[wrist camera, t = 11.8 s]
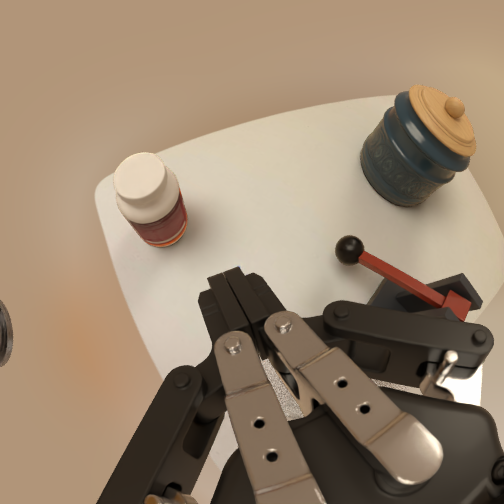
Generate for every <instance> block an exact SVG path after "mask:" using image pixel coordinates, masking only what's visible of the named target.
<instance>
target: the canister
mask: <svg viewBox="0 0 504 504" xmlns="http://www.w3.org/2000/svg"><path fill="white" fill-rule="evenodd" d="M394 105H395V106H393V107H391V108H389V109H388V110H387V111H386V112H385V114H384V117H383V119H382V120H381V121H380V123H379V124H378V126H377V127H376V128H375V130H374V131H373V132H372V133H371V134H370V135H369V136H368V137H367V139H366V140H365V142H364V144H363V148H362V150H361V155H360V159H361V165H362V168H363V171H364V173H365V176H366V177H367V179H368V181H369V182H370V184H371V185H372V186H373V188H374V189H375V190H376V191H377V192H378V193H379V194H380V195H381V196H383V197H384V198H385V199H387V200H388V201H390V202H392V203H394V204H396V205H399V206H404V207H409V206H413V205H416V204H419V203H421V202H423V201H424V200H426V199H427V198H428V197H429V196H430V194H432V193H433V192H434V191H436V190H437V189H438V188H440V187H441V186H442V185H444V184H446V183H449V182H450V181H451V180H452V179H453V178H454V176H455V173H456V172H462V171H464V170H466V169H467V167H468V165H469V162H470V156H472V155H473V154H474V153H475V151H476V141H475V138H474V132H473V128H472V125H471V123H470V121H469V120H468V118H467V116H466V115H465V114H464V111H465V108H464V105H463V103H462V102H461V100H459V99H458V98H456V97H448V96H447V95H445V94H444V93H443V92H441V91H439V90H437V89H435V88H431V87H426V86H423V85H414V86H412V87H411V88H410V90H409V91H405V92H401V93H399V94H398V95H397V96H396V98H395V103H394Z"/></svg>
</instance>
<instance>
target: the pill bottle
mask: <svg viewBox="0 0 504 504" xmlns="http://www.w3.org/2000/svg"><path fill="white" fill-rule="evenodd" d="M113 184H114V188H115V190H116V192H117V193H116V201H117V205H118V208H119V210H120V211H121V213H122V214H123V216H124V217H125V218H126V219H127V221H128V222H129V223H130V225H131V226H132V227H133V228H134V230H135V231H136V232H137V233H138V235H139V236H140V237H141V238H142V239H143V240H144V241H145V242H146V243H147V244H149V245H152V246H155V247H165V246H169V245H172V244H174V243H175V242H177V241H178V240H179V239H180V238H181V237H182V235H183V234H184V232H185V230H186V227H187V222H188V219H187V213H186V209H185V206H184V202H183V198H182V195H181V191H180V187H179V183H178V180H177V178H176V176H175V174H174V173H173V172H172V171H171V170H170V169H169V168H168V167H166V166H165V165H164V163H163V161H162V160H161V159H160V158H159V157H158V156H157V155H155V154H152V153H147V152H142V153H137V154H134V155H132V156H130V157H128V158H126V159H125V160H124V161H123V162H122V163H121V164H120V165H119V166H118V168H117V169H116V171H115V174H114V178H113Z"/></svg>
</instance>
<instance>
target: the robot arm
mask: <svg viewBox="0 0 504 504" xmlns="http://www.w3.org/2000/svg"><path fill="white" fill-rule="evenodd" d="M223 274H224V275H223ZM207 280H208V282H209V285H210V288H211V289H209V290H206V291H203V292H201V293H200V295H199V299H198V303H199V306H200V309H201V312H202V315H203V318H204V321H205V324H206V327H207V330H208V333H209V335H210V338H211V341H212V350H211V352H210V354H209V356H208V357H207V358H206V359H205V360H204V361H203V362H202V363H200V364H199V365H197V366H196V367H193V366H189V365H184V366H179V367H177V368H175V369H173V370H172V371H171V372H170V373H169V374H168V375H167V376H166V378H165V380H164V382H163V383H162V385H161V387H160V389H159V390H158V392H157V394H156V396H155V398H154V399H153V401H152V403H151V405H150V406H149V408H148V410H147V412H146V414H145V415H144V417H143V419H142V421H141V422H140V424H139V426H138V428H137V430H136V431H135V433H134V435H133V437H132V439H131V440H130V442H129V444H128V446H127V448H126V450H125V452H124V453H123V455H122V457H121V459H120V460H119V462H118V464H117V466H116V468H115V470H114V472H113V473H112V475H111V477H110V479H109V481H108V483H107V484H106V486H105V488H104V490H103V492H102V494H101V496H100V498H99V500H98V501H97V503H96V504H198V503H197V501H196V500H195V499H194V498H193V497H192V496H191V495H190V494H191V492H192V490H193V488H194V485H195V483H196V481H197V479H198V477H199V475H200V472H201V470H202V468H203V466H204V463H205V461H206V459H207V456H208V454H209V452H210V450H211V447H212V445H213V443H214V440H215V438H216V436H217V433H218V431H219V428H220V426H221V424H222V421H223V419H224V415H225V411H227V410H228V414H229V417H230V421H231V424H232V427H233V431H234V434H235V437H236V440H237V443H238V447H239V448H238V449H237V450H236V451H235V452H234V453H233V454H232V455H231V456H230V458H229V459H228V460H227V462H226V464H225V466H224V468H223V471H222V474H221V476H220V479H219V482H218V485H217V487H216V490H215V492H214V495H213V498H212V500H211V503H210V504H504V452H503V449H502V447H501V444H500V441H499V438H498V432H497V428H496V424H495V421H494V419H493V417H492V416H491V414H490V413H489V412H488V411H487V410H486V409H484V408H482V407H480V397H481V384H482V365H483V363H484V361H485V359H486V357H487V355H488V354H489V352H490V351H491V349H492V347H493V345H494V338H493V335H492V333H491V332H490V330H489V329H488V328H486V327H485V326H483V325H480V324H474V323H468V322H461V321H455V320H449V319H443V318H437V317H431V316H425V315H419V314H414V313H408V312H403V311H397V310H392V309H386V308H381V307H376V306H370V305H365V304H360V303H355V302H350V301H344V300H340V301H335V302H332V303H330V304H329V305H327V306H326V307H325V309H324V311H323V315H321V316H315V317H309V318H301V317H300V316H299V315H298V314H296V313H294V312H290V311H287V310H286V309H285V307H284V306H283V305H282V303H281V302H280V301H279V299H278V298H277V297H276V295H275V294H274V293H273V291H272V290H271V288H270V287H269V286H268V285H267V283H266V282H265V280H264V279H263V278H262V277H261V276H259V275H257V274H255V273H251V274H248V275H246V276H245V275H244V274H243V272H242V271H241V269H240V268H239V267H235V268H233V269H230V270H227V271H225V272H223V273H219V274H217V275H214V276H211V277H209V278H207ZM2 341H3V332H2V325H1V320H0V351H1V347H2ZM258 353H259V354H258ZM259 355H260V357H261V359H262V361H263V360H265V359H267V358H268V359H269V361H270V363H271V364H272V366H273V368H274V369H275V372H276V374H277V375H278V377H279V378H280V379H281V381H282V382H283V384H284V385H285V387H286V388H287V389H288V391H289V392H290V394H291V395H292V396H293V398H294V399H295V401H296V402H297V403H298V405H299V407H300V409H301V411H302V413H303V415H304V418H300V419H295V420H291V421H287V419H286V417H285V415H284V412H283V410H282V408H281V405H280V403H279V401H278V399H277V396H276V394H275V392H274V389H273V387H272V385H271V383H270V381H269V380H268V378H267V375H266V373H265V371H264V368H263V366H262V363H261V360H260V357H259ZM370 378H372V379H376V380H381V381H385V382H390V383H395V384H400V385H405V386H410V387H416V388H420V391H421V392H422V394H423V395H418V394H413V393H409V392H405V391H400V390H396V389H392V388H387V387H380V386H377V385H376V384H375V383H374V382H373V381H372V380H371V379H370Z"/></svg>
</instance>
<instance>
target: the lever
mask: <svg viewBox="0 0 504 504" xmlns="http://www.w3.org/2000/svg"><path fill="white" fill-rule="evenodd" d="M335 253H336V257H337V259H338V260H339V261H340V262H341V263H343V264H344V265H349V266H351V265H355V264H357V263H360V264H362V265H364V266H365V267H367V268H369V269H371V270H373V271H374V272H376V273H378V274H380V275H381V276H383V277H385V278H387V279H388V280H390V281H392V282H393V283H395V284H397V285H399V286H400V287H402V288H404V289H405V290H407V291H409V292H411V293H412V294H414V295H416V296H417V297H419V298H421V299H422V300H424V301H426V302H427V303H429V304H431V305H432V306H434V307H435V308H437V309H438V308H444V307H450V309H451V310H452V311H453V312H454V314H455V315H456V316H457V318H458V319H459V320H460V321H461V322H464V321H465V318H466V316H467V314H468V311H469V309H470V306H471V302H470V301H468V300H466V299H465V298H463V297H462V296H460V295H458V294H457V293H455V292H453V291H452V290H450V291H449V292H448V294H447V295H446V297H445V296H443V295H441V294H440V293H438V292H436V291H435V290H433V289H431V288H430V287H428V286H426V285H425V284H423V283H421V282H419V281H418V280H416V279H414V278H413V277H411V276H409V275H407V274H406V273H404V272H402V271H400V270H398V269H397V268H395V267H393V266H391V265H390V264H388V263H386V262H384V261H382V260H380V259H379V258H377V257H375V256H373V255H371V254H369V253H368V252H366V251H364V245H363V243H362V241H361V240H360V239H359V238H357V237H355V236H352V235H348V236H344V237H342V238H341V239H340V240H339V241H338V242H337V244H336V248H335Z"/></svg>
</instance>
